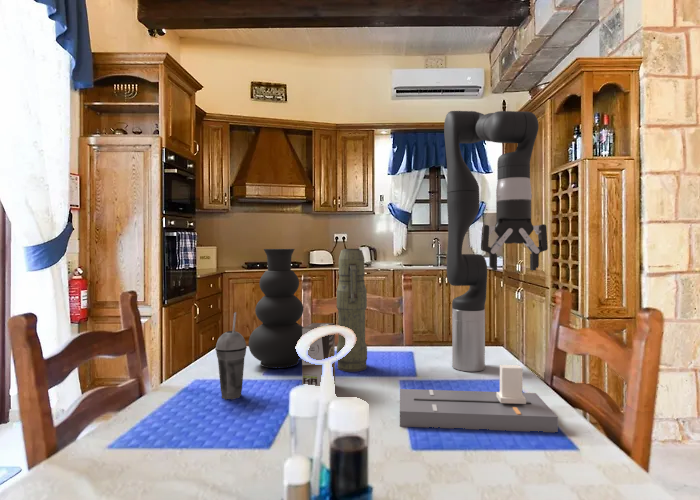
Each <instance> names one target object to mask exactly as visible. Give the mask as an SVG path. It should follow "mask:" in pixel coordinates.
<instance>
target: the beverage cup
mask: <svg viewBox="0 0 700 500" xmlns="http://www.w3.org/2000/svg"><path fill="white" fill-rule="evenodd" d="M232 320H233V321H232V330H229V331H226V332H224V333H222V334H221V335H220V336H219V337H218V339H217V342H216V345H215V351H216V357H217V362H218V363H217V366H218V374H219V384H220V387H219V388H220V394H221V398H222V399H223V398H224V399H223V400H227V399H231V400H235V399H236V398H237V399H239V398H241V397H242V391H243V381H244V370H245V368H244V367H245V358H246V353H247V348H248V347H247V342H246V340H245V338H244V336H243V335H242V334H241V333H240V332H238V331H236V320H237V311H236V312H234V313H233V319H232ZM240 396H241V397H240Z"/></svg>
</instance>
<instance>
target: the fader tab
mask: <svg viewBox="0 0 700 500" xmlns="http://www.w3.org/2000/svg"><path fill="white" fill-rule="evenodd" d="M495 392H496V397H497V398H498V400H499V401H500V403H515V404H526V398H525V397H524V396H523V395H522V393H523V368H522V366H520V365H519V364H499V391H495Z"/></svg>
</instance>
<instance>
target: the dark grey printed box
mask: <svg viewBox="0 0 700 500" xmlns="http://www.w3.org/2000/svg"><path fill="white" fill-rule="evenodd" d="M327 325H335V323H334V322H311V323H310V324H308V325H306V326H304V328H302V335H303V334H305V333H307V332H308V331H310V330H312V329H314V328H317V327H321V326H327ZM335 326H336V325H335ZM335 338H336V336H335V334H334V335H328V336H325V337H322V338H320V339H318V340H317V341H315V342H314V343H313V344H312V345H311V346H310V348H309V350H308V355H309V356H310V357H311V358H313V359H316V360H322V359H325V358H328V357H331V356H334V355H335V356H336V354H335V353H336V348H335V347H336V346H335V345H336V343H335ZM335 362H336V361H335ZM335 362H334V363H333V364H332V367H333V376H334V381H335V382H336V371H335V370H336V367H335V365H336V363H335ZM321 375H322V365H315V364H311V363H309V362H306V361H304V360H303V359H302V358H301V386H302V385H303V384H308V385H315V386H320V382H321Z"/></svg>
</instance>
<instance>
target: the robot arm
mask: <svg viewBox="0 0 700 500" xmlns="http://www.w3.org/2000/svg"><path fill="white" fill-rule="evenodd" d="M443 127H444V128H443V131H444V133H443V134H444V144H445V145H444V146H445V154H446V155H445V157H446V176H447V177H446V179H447V181H446V207H447V233H448V234H447V249H446V277H447V278H446V279H447V281H448V282H449V285H451V286H453V287H458V286H459V287H460V286H461V287H462V286H463V287H466V286H468V287H469V288H468V290H467V291H466V292H464V293H463V294H461V295H459V296H457V297H455V298H453V299H452V302H451V308H452V315H451V316H452V321H451V322H452V324H451V326H452V328H451V329H452V331H451V332H452V335H451V336H452V337H451V340H452V343H451V344H452V346H451V347H452V357H451V358H452V359H451V360H452V361H451V362H452V368H454V369H455V370H458V371H462V372H481V371H484V370H485V369H486V356H485V355H486V318H485V317H486V308H485V307H486V301H487V288H488V287H487V286H488V285H487V283H488V265H489V268H490V269H491V270H492V271H498V254H497V252H498V250H500V248H501V247H502V246H503V245H504V244H507V245H509V244H510V245H511V244H516V245H517V244H520V245H521V244H523V245H524V246H525V247H526V248H527V249H528V251H529V252H530V254H529V265H530V266H529V267H530V268H529V269H530V271H537V269H538V268H539V267H540V266H539V264H540V263H539V262H540V259H539V258H540V257H539V256H540V254H541V253H542V252H546V251H547V250H548V249H549V247H548V246H549V244H548V233H547V225H546V224H544V223H543V224H539V225H533V224H532V199H533V198H532V197H533V194H532V186H531V185H532V183H531V159H532V154H533V150H534V146H535V143H536V142H535V141H536V139H537V136H538V134H539V133H538V132H539V129H540V128H539V120H538V117H537V115H536V114H534V112H531V111H519V110H518V111H515V110H514V111H512V110H510V111H509V110H500V111H498V110H497V111H495V112H490V113H485V114H484V113H481V112H479V111H473V110H451V111H448V112H447V113H446V115H445V119H444V126H443ZM482 141H485V142H492V143H497V144H516V145H517V146H516V148H515V151H511V152H506V153H503V154H500V156H499V157H498V159H497V170H496V171H497V173H496V174H497V179H496V180H497V181H496V183H497V184H496V190H495V191H496V195H495V197H496V201H495V202H496V203H495V204H496V205H495V207H496V208H495V209H496V212H495V214H496V215H495V219H496V221H495V225H488V224H484V225H483V226H481V236H480V237H481V240H480V251H482V252H485V253H487V254H488V256H489V257H488V262H489V263H488V262H487V260H486V258H485V257H484V255H482V254H478V253H463V246H464V245H463V243H464V239H465V236H466V234H467V232H468V230H469V229H470V227H471V225H472V224H473V222H474V221H475V219H476V217H477V215H478V214H479V211H480V201H481V200H480V186H479V183H478V181H477V179H476V178H475V176H474V174H473V173H472V172H471V170H470V168H469V167H468V165H467V164H466V162H465V160H464V158H463V154H462V151H461V146H460V144H475V143H479V142H482ZM493 231H494V232H495V234H496V235H497V236H498V237H497V238H496V240H495V241H494V242H493V244H492V245H491V246H489V237H490V236H491V235H492V233H493ZM533 231H534V233H535V234H536V235H537V240H538V246H537V245H536V244H535V242H534V240H533V239H532V238H531V237H530V235H531V234H532V232H533ZM487 263H488V264H487Z"/></svg>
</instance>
